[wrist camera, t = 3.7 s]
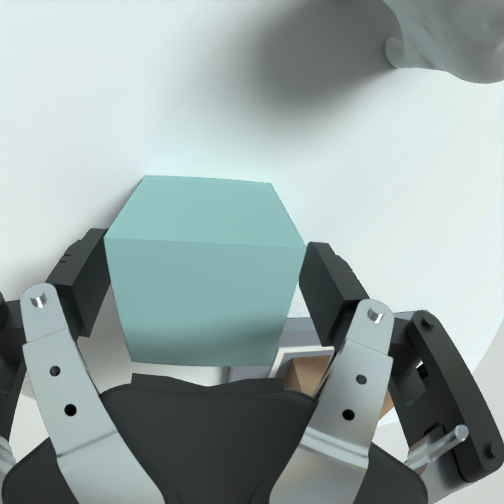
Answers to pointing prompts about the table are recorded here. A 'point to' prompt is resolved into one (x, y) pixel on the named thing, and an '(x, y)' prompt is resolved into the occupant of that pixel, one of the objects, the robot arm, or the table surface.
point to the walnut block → (316, 377)
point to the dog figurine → (450, 37)
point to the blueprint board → (292, 349)
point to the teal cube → (203, 271)
